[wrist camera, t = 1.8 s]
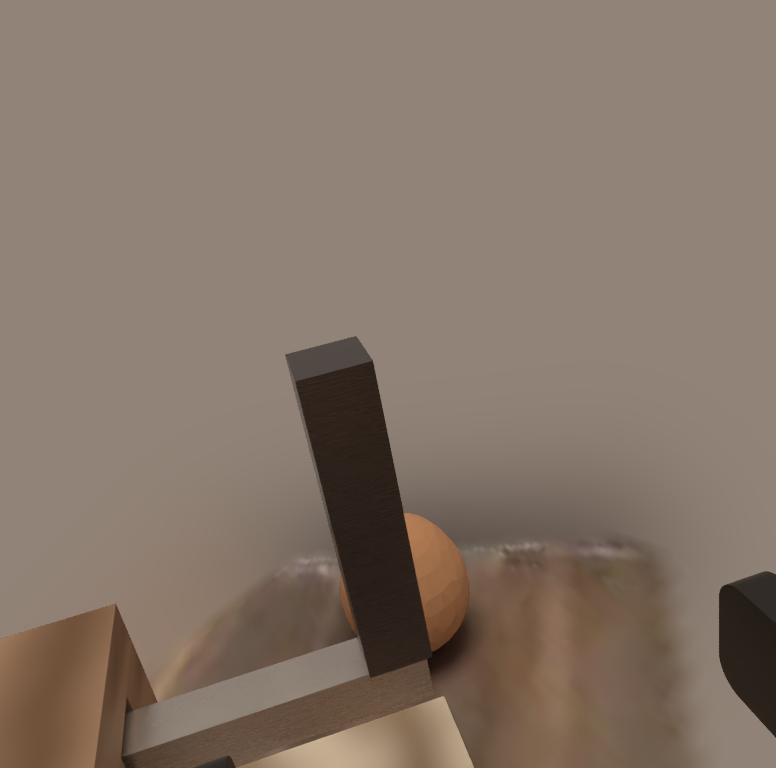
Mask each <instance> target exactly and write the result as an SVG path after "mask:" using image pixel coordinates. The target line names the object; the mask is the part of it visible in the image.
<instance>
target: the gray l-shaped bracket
mask: <svg viewBox="0 0 776 768" xmlns="http://www.w3.org/2000/svg"><path fill="white" fill-rule="evenodd" d="M285 356H286V360H287V364H288V368H289V372H290V376H291V380H292V383H293V387H294V391H295V395H296V399H297V403H298V407H299V411H300V415H301V419H302V422H303V427H304V430H305V434H306V438H307V442H308V446H309V450H310V454H311V457H312V462H313V466H314V470H315V473H316V477H317V481H318V485H319V489H320V493H321V497H322V500H323V504H324V509H325V513H326V517H327V520H328V524H329V528H330V532H331V536H332V539H333V544H334V548H335V552H336V556H337V560H338V564H339V568H340V571H341V575H342V579H343V583H344V587H345V591H346V595H347V599H348V603H349V607H350V611H351V614H352V618H353V622H354V626H355V630H356V634H357V638H354V639H351V640H348V641H345V642H342V643H339V644H336V645H333V646H330V647H327V648H324V649H321V650H317V651H314V652H311V653H308V654H305V655H302V656H299V657H296V658H293V659H290V660H287V661H284V662H281V663H278V664H275V665H271V666H268V667H265V668H262V669H259V670H256V671H253V672H250V673H247V674H244V675H241V676H238V677H235V678H232V679H229V680H225V681H222V682H219V683H216V684H213V685H210V686H207V687H204V688H201V689H198V690H195V691H192V692H189V693H186V694H183V695H179V696H176V697H173V698H170V699H167V700H164V701H161V702H158V703H155V704H152V705H149V706H146V707H143V708H140V709H137V710H133V711H130V712H127V713H125V719H124V729H123V740H122V751H121V759H122V761H123V763H124V765H125V767H126V768H193V767H196V766H199V765H201V764H204V763H207V762H210V761H213V760H216V759H219V758H222V757H225V756H227V755H229V756H230V757H231V758H232V760H233V763H236V762H239V761H242V760H245V759H248V758H251V757H254V756H257V755H260V754H262V753H265V752H268V751H271V750H274V749H277V748H280V747H283V746H286V745H289V744H291V743H294V742H297V741H300V740H303V739H306V738H309V737H312V736H315V735H318V734H320V733H323V732H326V731H329V730H332V729H335V728H338V727H341V726H344V725H347V724H350V723H352V722H355V721H358V720H361V719H364V718H367V717H370V716H373V715H376V714H379V713H381V712H384V711H387V710H390V709H393V708H396V707H399V706H402V705H405V704H408V703H410V702H413V701H416V700H419V699H422V698H425V697H428V696H431V695H434V691H433V686H432V681H431V676H430V671H429V667H428V662H427V659H429V658H432V657H433V655H432V650H431V646H430V641H429V636H428V631H427V626H426V621H425V616H424V611H423V606H422V601H421V596H420V591H419V586H418V581H417V576H416V571H415V567H414V562H413V557H412V552H411V547H410V542H409V537H408V532H407V527H406V522H405V517H404V512H403V507H402V502H401V498H400V493H399V487H398V483H397V478H396V473H395V468H394V463H393V458H392V453H391V448H390V443H389V438H388V434H387V428H386V423H385V418H384V414H383V408H382V404H381V399H380V394H379V389H378V385H377V379H376V374H375V369H374V364H373V360H372V359H371V357H370V356H369V355H368V353H367V351H366V350H365V349H364V347H363V346H362V344H361V343H360V342H359V340H358V338H357V337H351V338H347V339H344V340H340V341H336V342H332V343H328V344H325V345H320V346H317V347H313V348H309V349H305V350H301V351H298V352H293V353H290V354H286V355H285Z"/></svg>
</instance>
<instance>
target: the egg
mask: <svg viewBox="0 0 776 768" xmlns="http://www.w3.org/2000/svg"><path fill="white" fill-rule="evenodd" d="M404 517H405V522H406V527H407V532H408V537H409V542H410V547H411V552H412V557H413V562H414V567H415V571H416V576H417V581H418V586H419V591H420V596H421V601H422V606H423V611H424V616H425V621H426V626H427V631H428V636H429V641H430V646H431V650H432V652H433V651H435V650H437V649H438V648H440V647H441V646H442V645H444V644H445V643H446V642H448V641H449V640H450V639H451V637H452V636H453V635H454V634H455V632H456V631H457V630H458V629H459V627H460V626H461V623H462V621H463V619H464V616H465V613H466V611H467V608H468V602H469V594H470V593H469V581H468V576H467V571H466V566H465V564H464V562H463V559H462V557H461V555H460V552H459V551H458V549H457V548H456V546H455V545H454V543H453V542H452V541H451V540H450V539H449V538H448V537H447V536H446V535H445V533H444V532H443V531H441V530H440V529H439V528H438V527H437V526H436V525H434V524H433V523H431V522H430V521H428V520H426V519H425V518H423V517H420V516H417V515H414V514H409V513H404ZM340 595H341V601H342V607H343V609H344V612H345V614H346V617H347V619H348V621H349V624H350V626H351V628H352V629H353V631H354V632H355V633H356V630H355V626H354V622H353V618H352V614H351V611H350V607H349V603H348V599H347V595H346V591H345V587H344V583H343V579H342V575H340Z"/></svg>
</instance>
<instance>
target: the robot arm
mask: <svg viewBox="0 0 776 768" xmlns="http://www.w3.org/2000/svg"><path fill="white" fill-rule="evenodd" d="M719 657H720V662H721V666H722V669H723V672H724V674H725V676H726V678H727V680H728V682H729V684H730V685H731V687H732V689H733V690H734V691H735V693H736V694H737V695H738V696H739V697H740V699H741V700H742V701H743V702H744V703H745V704H746V705H747V706H748V707H749V709H750V710H751V711H752V712H753V713H754V714H755V715H756V716H757V717H758V718H759V720H760V721H761V722H762V723H763V724H764V725H765V726H766V727H767V728H768V730H769V731H770V732H771V733H772V734H773V735H774V736H775V737H776V575H775V574H773V573H771V572H766V571H765V572H762V573H759V574H756V575H753V576H750V577H747V578H744V579H741V580H739V581H735V582H733V583H730V584H727V585H724V586H723V587H722V588H721V590H720V593H719ZM193 768H235V765H234V763H233V760H232V758H231V757H230V756H229V755H227V756H225V757H222V758H219V759H216V760H213V761H210V762H207V763H204V764H201V765H199V766H196V767H193Z"/></svg>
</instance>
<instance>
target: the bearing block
mask: <svg viewBox="0 0 776 768" xmlns="http://www.w3.org/2000/svg"><path fill="white" fill-rule="evenodd" d="M155 703H158V702H157V700H156V697H155V695H154V693H153V690H152V688H151V686H150V683H149V681H148V679H147V676H146V674H145V671H144V669H143V667H142V664H141V662H140V660H139V658H138V655H137V653H136V650H135V648H134V645H133V643H132V641H131V638H130V636H129V634H128V631H127V629H126V627H125V624H124V622H123V620H122V618H121V615H120V612H119V610H118V608H117V606H116V604H113V605H110V606H107V607H103V608H100V609H97V610H94V611H90V612H87V613H84V614H80V615H77V616H74V617H71V618H67V619H64V620H61V621H57V622H54V623H51V624H47V625H44V626H40V627H37V628H34V629H31V630H27V631H24V632H21V633H18V634H14V635H11V636H7V637H4V638H1V639H0V768H126V767H125V765H124V763H123V761H122V759H121V751H122V740H123V729H124V719H125V713H127V712H130V711H133V710H137V709H140V708H143V707H146V706H149V705H152V704H155ZM237 768H474V766H473V764H472V762H471V759H470V757H469V755H468V752H467V750H466V747H465V745H464V743H463V740H462V738H461V736H460V733H459V731H458V729H457V726H456V724H455V721H454V719H453V717H452V714H451V712H450V710H449V707H448V705H447V703H446V700H445V698H444V696H442V697H439V698H437V699H434V700H431V701H428V702H425V703H422V704H419V705H416V706H413V707H411V708H408V709H405V710H402V711H399V712H396V713H393V714H390V715H387V716H385V717H382V718H379V719H376V720H373V721H370V722H367V723H364V724H361V725H358V726H356V727H353V728H350V729H347V730H344V731H341V732H338V733H335V734H332V735H330V736H327V737H324V738H321V739H318V740H315V741H312V742H309V743H306V744H304V745H301V746H298V747H295V748H292V749H289V750H286V751H283V752H280V753H277V754H275V755H272V756H269V757H266V758H263V759H260V760H257V761H254V762H251V763H249V764H246V765H243V766H240V767H237Z"/></svg>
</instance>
